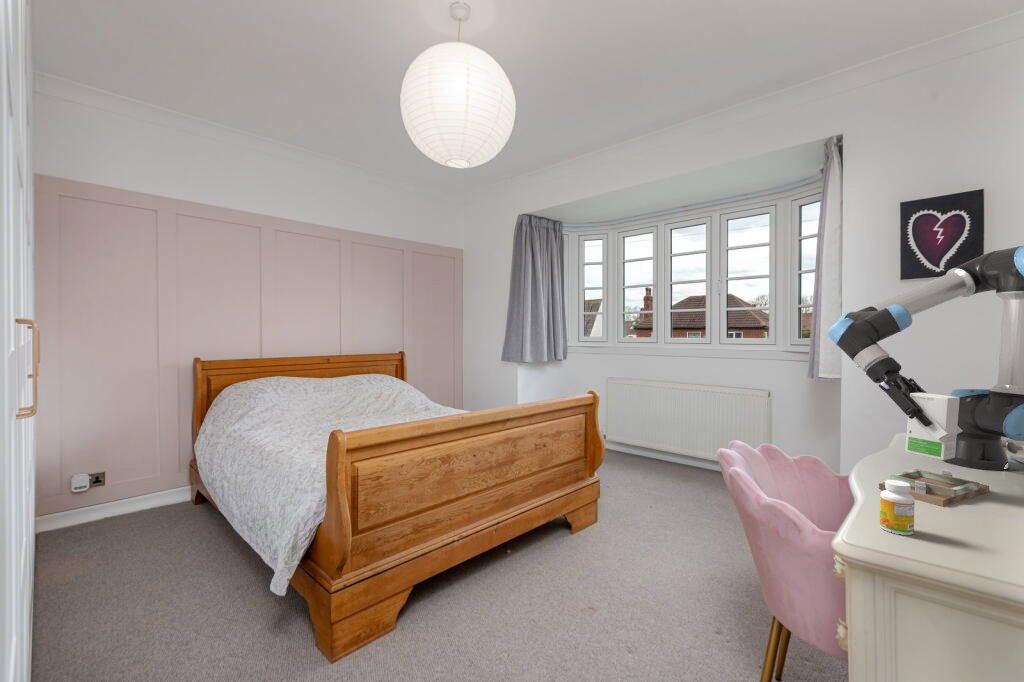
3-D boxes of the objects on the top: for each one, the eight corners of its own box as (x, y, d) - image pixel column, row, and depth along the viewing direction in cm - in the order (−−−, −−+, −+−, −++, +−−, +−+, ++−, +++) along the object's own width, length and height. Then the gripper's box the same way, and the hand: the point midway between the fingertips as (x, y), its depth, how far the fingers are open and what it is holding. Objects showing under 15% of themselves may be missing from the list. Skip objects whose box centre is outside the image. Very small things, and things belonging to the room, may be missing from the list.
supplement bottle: (875, 523, 100) (876, 477, 100) (907, 527, 98) (908, 480, 98) (884, 533, 95) (886, 484, 95) (918, 537, 93) (919, 488, 93)
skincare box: (904, 452, 124) (906, 393, 123) (917, 450, 127) (919, 391, 126) (945, 461, 116) (947, 397, 116) (958, 458, 119) (960, 395, 119)
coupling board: (926, 477, 132) (926, 465, 132) (989, 491, 121) (989, 478, 121) (878, 489, 122) (879, 476, 122) (942, 506, 110) (943, 492, 110)
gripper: (885, 372, 139) (954, 440, 125) (846, 374, 130) (916, 447, 116) (907, 355, 134) (982, 423, 120) (869, 356, 125) (944, 429, 111)
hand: (949, 435), depth 118 cm, fingers closed on skincare box, 6 cm apart
